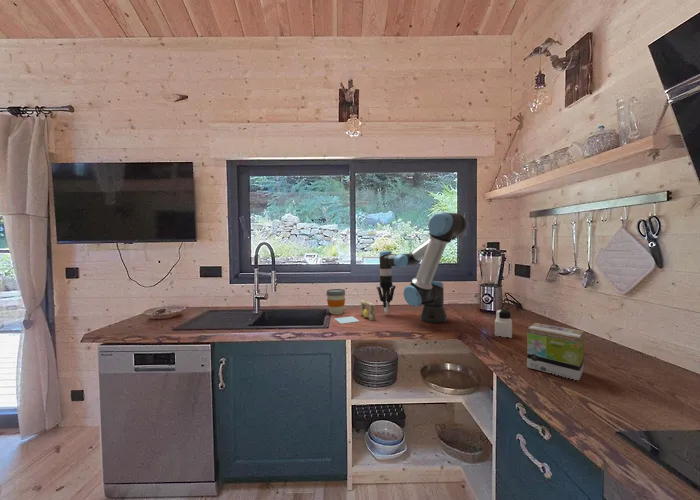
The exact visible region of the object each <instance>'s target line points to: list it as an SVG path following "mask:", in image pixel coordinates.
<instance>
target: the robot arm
mask: <svg viewBox="0 0 700 500" xmlns="http://www.w3.org/2000/svg"><path fill="white" fill-rule="evenodd" d="M467 225H468V223H467V220H466V217H464V215H462V214H460V213H456V212H447V211H441V212H436V213H435V214H433V215H432V216H430V218H429V219H428V222H427V228H428V232H429V233H428V237H429V238H428V239H427V240H426V241H424V242H422V243H421V244H420V245H418V246H416V248H415V249H413V250H412V251H411V252H409V253H396V254H393V253H392V251H391V250H381V251H379V256H378V257H379V285H378V286H376V289H377V292H378V296H379V301H380V302H382V306H383V308H384V313H386V314H389V307H390V306H391V305H390V303H391V302H392V301H393V299H394V293H395V289H396V287H397V286H396V285H394V284H393V271H392V270H393V267H397V268H404V267H409V266H417V265H419V264H420V266H419V268H418V270H417V274H416V276H415V277H413V278H412V279H411V282H410V284H409V285H407V286H405V287H404V289H403V298H404V301H405V302H406V303H407V304H408V305H409V306H411V307H420V306H422V309H421V313H420V315H419V316H420V320H421V321H422V322H425V323H431V324H432V323H433V324H437V323H438V324H440V323H446V322H447V321H448V316H447V313H446V311H445V307H444V300H445V299H444V297H445V296H444V283H443V282H442V281H437V280H433V279H434V276H435V274H436V271H437V269H438V266H439V264H440V261H441V258H442V256H443V253H444V251H445V250H446V249H445V248H446V246H447V245H448V244H449V243H451V242H452V241H454V240H455V239H457V238H458V237H461V236H462V234H464V233H465V231H466V230H467V227H468V226H467Z"/></svg>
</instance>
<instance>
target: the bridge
mask: <svg viewBox="0 0 700 500" xmlns="http://www.w3.org/2000/svg"><path fill="white" fill-rule="evenodd" d="M367 307H368V308H367ZM365 309H369V318H368V320H369V321H376V304H374V303H372V302H370V301H367V300H360V315H361V316H362V317H365V316H364V315H363V311H364V310H365Z"/></svg>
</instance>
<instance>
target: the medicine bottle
mask: <svg viewBox="0 0 700 500" xmlns="http://www.w3.org/2000/svg"><path fill="white" fill-rule="evenodd" d="M495 313H496V315H495V316H496V318H495V320H494V336H495V337H499V336H501V337H500V338H506V337H509V339H512V338H513V320H512V319H511V312H510V311H509V310H507V309H498V310H496V311H495Z"/></svg>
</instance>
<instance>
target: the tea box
mask: <svg viewBox="0 0 700 500" xmlns="http://www.w3.org/2000/svg"><path fill="white" fill-rule="evenodd" d="M526 337H527V339H526V341H527V342H526V345H527V347H526V348H527V349H526V350H527V351H526V354H527V355H526V358H527V360H526V365H527V369H528V368H529V369H533V370H537V371H541V372H543V373H547V374H551V373H552V374H551V375H554V374H555V375H554V376H558V375H559V376H558V377H561V376H562V377H561V378H565V377H566V378H565V379H568V378H570V379H569V380H571V379H574V380H573V381H575V380H579V381H580V379H581V377H582V375H583V372H584V362H585V361H584V359H585V356H584V353H585V352H584V350H585V343H584V342H585V331H584V330H578V329H573V328H568V327H561V326H557V325H549V324H544V323H539V322H538V323H537V322H533V324H532V325H530V326H529V327H528V328H527V336H526Z"/></svg>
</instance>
